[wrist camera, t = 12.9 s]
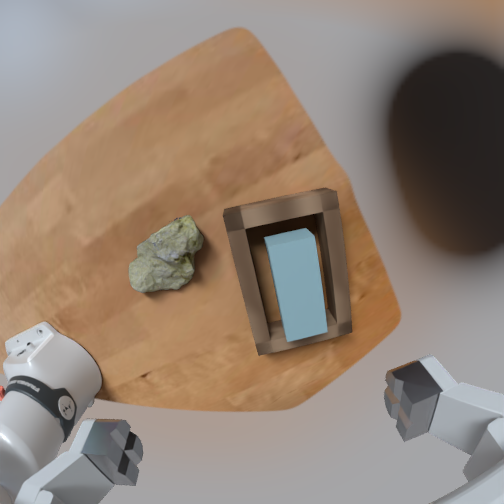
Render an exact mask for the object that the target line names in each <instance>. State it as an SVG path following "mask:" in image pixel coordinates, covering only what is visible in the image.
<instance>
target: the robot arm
mask: <svg viewBox="0 0 504 504" xmlns="http://www.w3.org/2000/svg"><path fill="white" fill-rule="evenodd" d="M5 346H6V351H7V354H8V357H7V359H6V360H5V361H4V363H3V369H4V373H5V376H6V378H7V381H8V384H7V388H6V391H5V390H4V388H3V386H0V401H1V402H0V504H98V503H99V502H100V501H101V500H102V499H103V498H104V496H106V495H107V493H108V492H109V491H110V490H111V489H112V488H113V487H114V484H116V485H130V486H135V485H136V482H137V478H138V473H139V469H138V467H137V466H136V465H137V464H138V463H139V462H140V461H141V460H142V456H143V448H142V443H141V441H140V439H139V438H138V436H137V435H135V434H134V433H132V432H131V431H130V428H131V427H130V425H129V424H128V423H127V422H126V420H115V419H85V420H84V421H83V422H82V424H81V426H80V429H79V430H78V432H77V435H76V437H75V439H74V441H73V443H72V445H71V448H70V450H69V452H64V453H63V454H62V455H60V456H59V457H57V458H56V456H57V454H58V451H59V449H60V447H61V444H62V443H64V442H65V441H66V440H67V438H68V436H70V434H71V431H72V429H73V427H74V426H75V425H76V424H77V422H78V421H79V419H80V418H81V416H82V414H83V413H84V412H85V410H86V409H87V407H91V406H92V405H93V403H94V396H95V395H96V393H97V392H98V391H99V390H100V388H101V385H102V378H101V373H100V371H99V368H98V366H97V364H96V363H95V361H94V360H93V358H92V357H91V356H90V355H89V353H88V352H87V351H86V350H85V349H84V348H82V347H81V346H80V345H79V344H78V343H76V342H75V341H73V340H72V339H70V338H68V337H66V336H64V335H62V334H60V333H59V332H57V331H56V330H55V329H54V328H53V327H52V326H51V325H50V324H48V323H47V322H41V323H39V324H37V325H35V326H33V327H31V328H29V329H27V330H25V331H23V332H21V333H19V334H17V335H15V336H14V337H12V338H10V339H8V340H7V341H6V343H5ZM385 381H386V382H387V384H388V387H387V388H386V389H385V392H384V399H385V405H386V408H387V411H388V413H389V415H390V416H391V417H392V418H394V419H396V420H397V425H396V428H397V429H398V431H399V433H400V435H401V437H402V439H403V441H404V442H405V441H407V440H410V439H412V438H415V437H417V436H419V435H422V434H424V433H427V432H428V433H429V434H432V435H433V436H435V437H437V438H439V439H441V440H443V441H445V442H446V443H448V444H450V445H452V446H454V447H456V448H458V449H460V450H462V451H464V452H466V453H468V454H470V455H472V456H471V457H470V459H469V461H468V462H467V464H466V465H465V467H464V470H463V473H464V475H465V477H466V478H467V480H468V483H466V484H464V485H463V486H461V487H459V488H458V489H456V490H454V491H452V492H451V493H449V494H447V495H445V496H443V497H441V498H439V499H437V500H436V501H433V502H432V503H429V504H504V394H501V393H497V392H494V391H490V390H486V389H483V388H480V387H476V386H473V385H470V384H466V383H463V382H461V383H459V384H458V383H457V382H456V381H455V380H454V379H453V378H452V376H451V375H450V374H449V373H448V372H447V371H446V370H445V368H444V367H443V366H442V365H441V364H440V363H439V362H438V361H437V360H436V358H435V357H434V356H433V355H431V354H429V355H427V356H424V357H422V358H419V359H417V360H416V361H412V362H410V363H407V364H405V365H402V366H399V367H397V368H394V369H392V370H389V371H387V373H386V380H385ZM55 458H56V459H55Z"/></svg>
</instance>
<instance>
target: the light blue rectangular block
mask: <svg viewBox="0 0 504 504" xmlns="http://www.w3.org/2000/svg"><path fill="white" fill-rule="evenodd" d="M264 239H265V244H266V248H267V253H268V258H269V263H270V267H271V272H272V277H273V282H274V287H275V291H276V296H277V301H278V306H279V311H280V316H281V321H282V325H283V329H284V333H285V336H286V340H287V342H290V341H294V340H298V339H302V338H306V337H310V336H314V335H318V334H322V333H326V332H328V331H327V322H326V313H325V305H324V297H323V290H322V282H321V275H320V268H319V261H318V255H317V248H316V242H315V236H314V235H313V234H312V233H311V232H310V231H309V230H308V229H307V228H304V229H299V230H295V231H290V232H285V233H281V234H276V235H272V236H267V237H264Z"/></svg>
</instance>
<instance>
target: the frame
mask: <svg viewBox="0 0 504 504" xmlns="http://www.w3.org/2000/svg"><path fill="white" fill-rule="evenodd" d="M310 214H315V219H316V225H317V232H318V238H319V244H320V251H321V258H322V265H323V272H324V279H325V287H326V295H327V303H328V309H325V313H326V322H327V331H328V332H326V333H322V334H318V335H314V336H310V337H306V338H302V339H298V340H294V341H290V342H287V340H286V336H285V333H284V329H283V325H282V321H281V320H280V321H275V322H271V323H267V320H266V316H265V312H264V307H263V303H262V299H261V294H260V290H259V285H258V281H257V277H256V272H255V268H254V264H253V259H252V255H251V251H250V246H249V242H248V238H247V233H246V228H251V227H255V226H260V225H264V224H269V223H273V222H278V221H283V220H287V219H292V218H296V217H301V216H306V215H310ZM223 218H224V222H225V226H226V230H227V234H228V238H229V242H230V247H231V251H232V255H233V259H234V263H235V267H236V271H237V275H238V278H239V282H240V286H241V290H242V294H243V298H244V302H245V306H246V310H247V314H248V317H249V321H250V325H251V329H252V333H253V337H254V340H255V344H256V348H257V352H258V355H264V354H269V353H273V352H278V351H282V350H287V349H291V348H295V347H299V346H304V345H308V344H312V343H315V342H319V341H323V340H327V339H331V338H334V337H338V336H342V335H345V334H349V333H352V320H351V306H350V294H349V283H348V273H347V263H346V254H345V246H344V238H343V230H342V223H341V216H340V209H339V203H338V196H337V191H334V190H331V189H328V188H321V189H316V190H311V191H306V192H301V193H296V194H291V195H286V196H281V197H277V198H272V199H267V200H263V201H258V202H254V203H249V204H245V205H240V206H236V207H231V208H227V209H224V213H223Z"/></svg>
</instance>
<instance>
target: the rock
mask: <svg viewBox="0 0 504 504" xmlns="http://www.w3.org/2000/svg"><path fill="white" fill-rule="evenodd" d="M175 220H176V221H173V222H171V223H170V224H168V225H167V226H165V227H163V228H162V229H161V230H159V231H158V232H155V233H153V234H151V236H150V238H149V239H147V240H145V241H143V242H142V243H141V244H139V245H138V246H137V254H138V258H136V259H135V260H134V261H133V262H131V263H130V265H129V278H130V283H131V286H132V288H133V289H135V290H136V291H139V292H141V293H145V292H148V291H150V292H153V291H157V290H162V289H164V290H169V289H175V290H176V289H179V288H180V287H181V286H182V285H184V284H186V283H188V282H189V280H191V278H192V277H193V273H194V271H195V266H194V254H195V253H196V252H197V251H198V250H200V249H201V248H202V246H203V244H202V243H203V241H204V238H203V235H202V234H201V233H199V230H198V229H197V227H196V224H195V222H194V220H193V219H192V217H191V216H190V215H186V216H183V217H182V218H179V220H177V218H176V219H175ZM169 222H170V221H169Z"/></svg>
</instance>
